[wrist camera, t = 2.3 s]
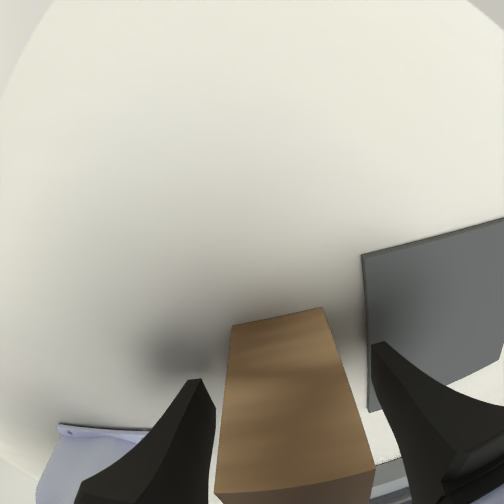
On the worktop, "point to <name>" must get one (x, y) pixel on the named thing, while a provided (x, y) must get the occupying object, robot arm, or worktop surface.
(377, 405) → the mat
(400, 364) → the robot arm
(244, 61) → the worktop surface
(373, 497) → the panel
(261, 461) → the tan wooden post
